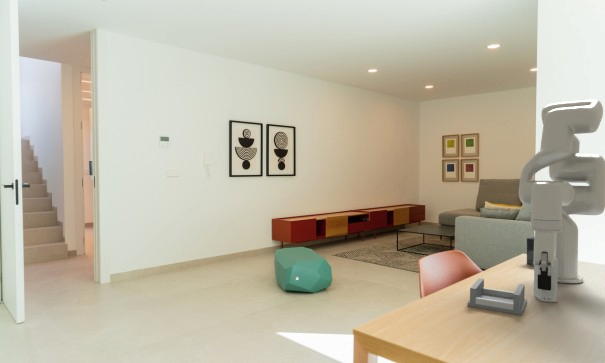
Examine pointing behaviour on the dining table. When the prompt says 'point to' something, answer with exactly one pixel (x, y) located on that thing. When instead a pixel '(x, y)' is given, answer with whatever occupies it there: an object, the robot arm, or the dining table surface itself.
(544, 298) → the skincare box
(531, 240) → the small box
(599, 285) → the dining table surface
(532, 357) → the dining table surface
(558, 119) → the robot arm
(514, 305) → the rest
